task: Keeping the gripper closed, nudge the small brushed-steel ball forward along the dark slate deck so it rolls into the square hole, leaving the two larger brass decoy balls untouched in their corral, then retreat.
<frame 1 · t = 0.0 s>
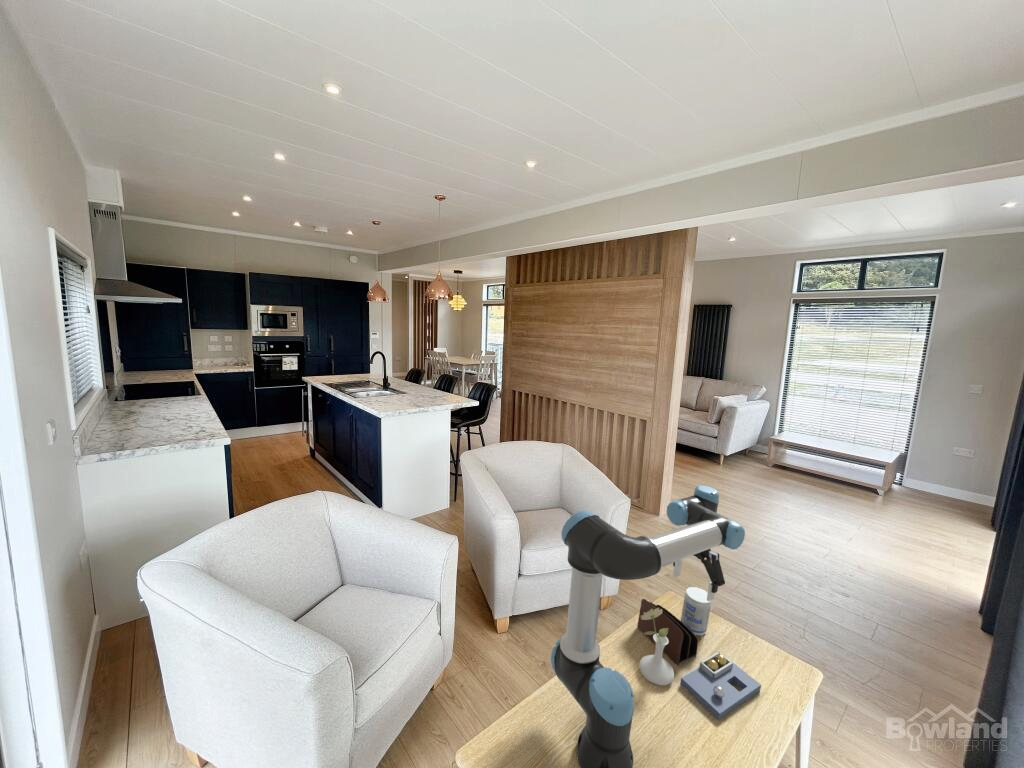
hand: (692, 587, 146), 28 cm above the table, fingers open, 13 cm apart
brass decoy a: (712, 665, 143), point 4 cm above the table, touching deck
flower in vase: (653, 674, 143), on the table
deck: (720, 687, 139), on the table
steel ball: (718, 691, 133), point 4 cm above the table, touching deck
letter holder: (665, 642, 158), on the table
brass decoy b: (720, 660, 145), point 4 cm above the table, touching deck
supplement tub: (693, 628, 166), on the table
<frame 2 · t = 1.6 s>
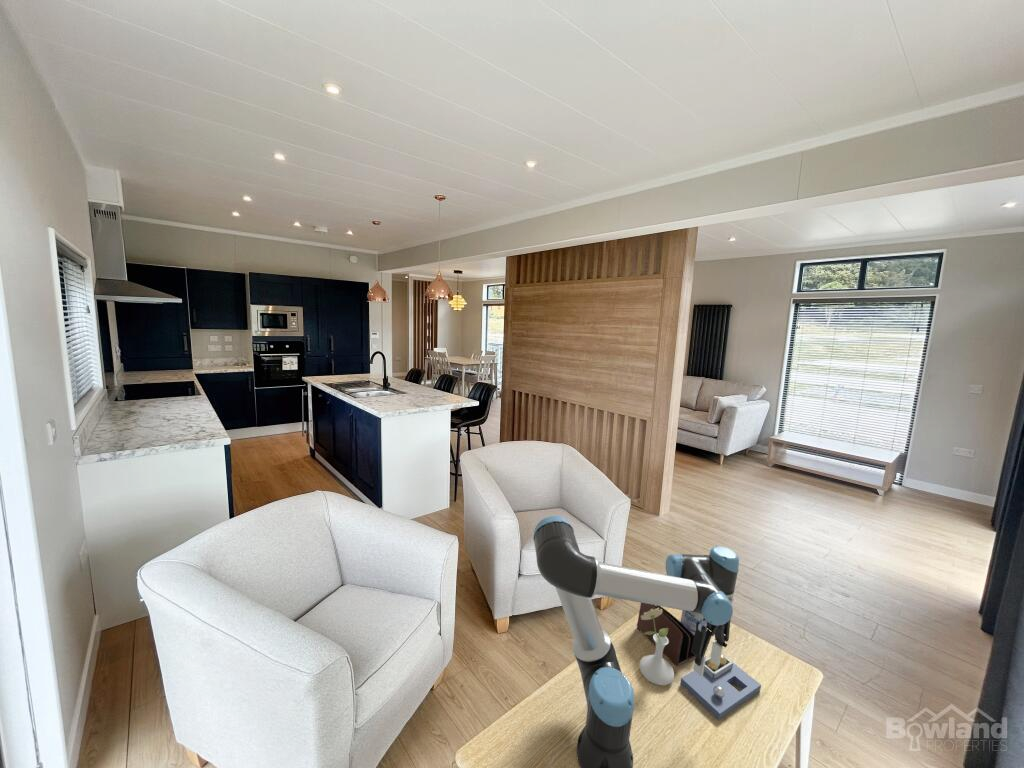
hand: (706, 667, 126), 17 cm above the table, fingers open, 7 cm apart
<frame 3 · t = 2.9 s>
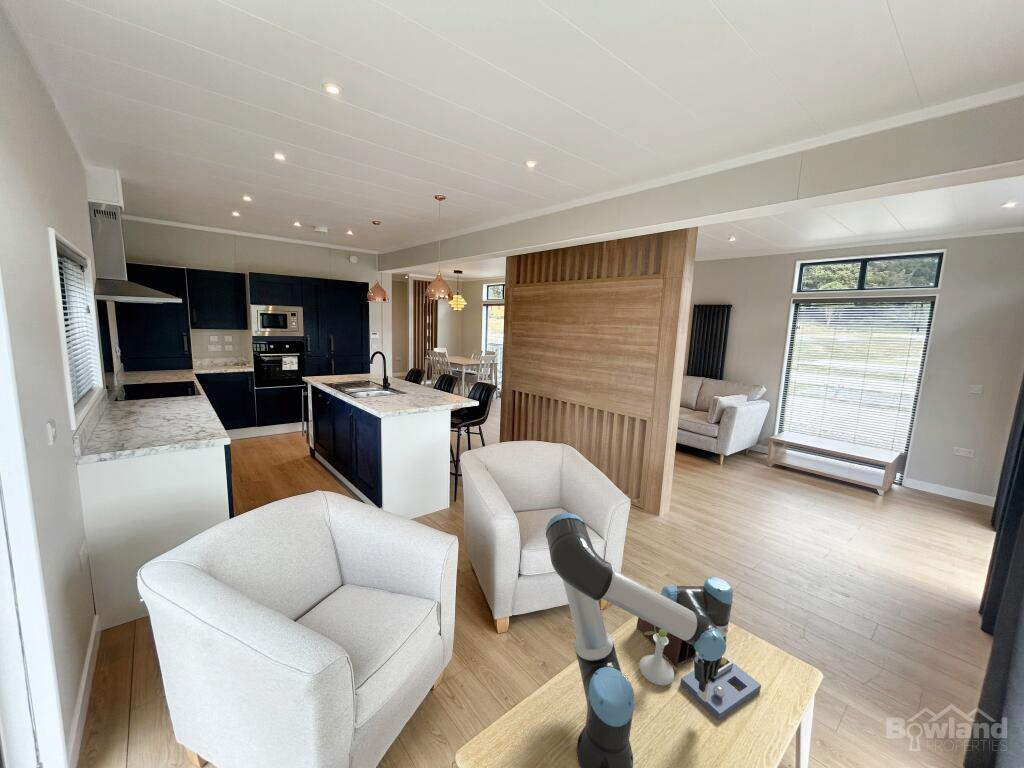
hand: (702, 697, 128), 6 cm above the table, fingers closed
nothing on the table moved.
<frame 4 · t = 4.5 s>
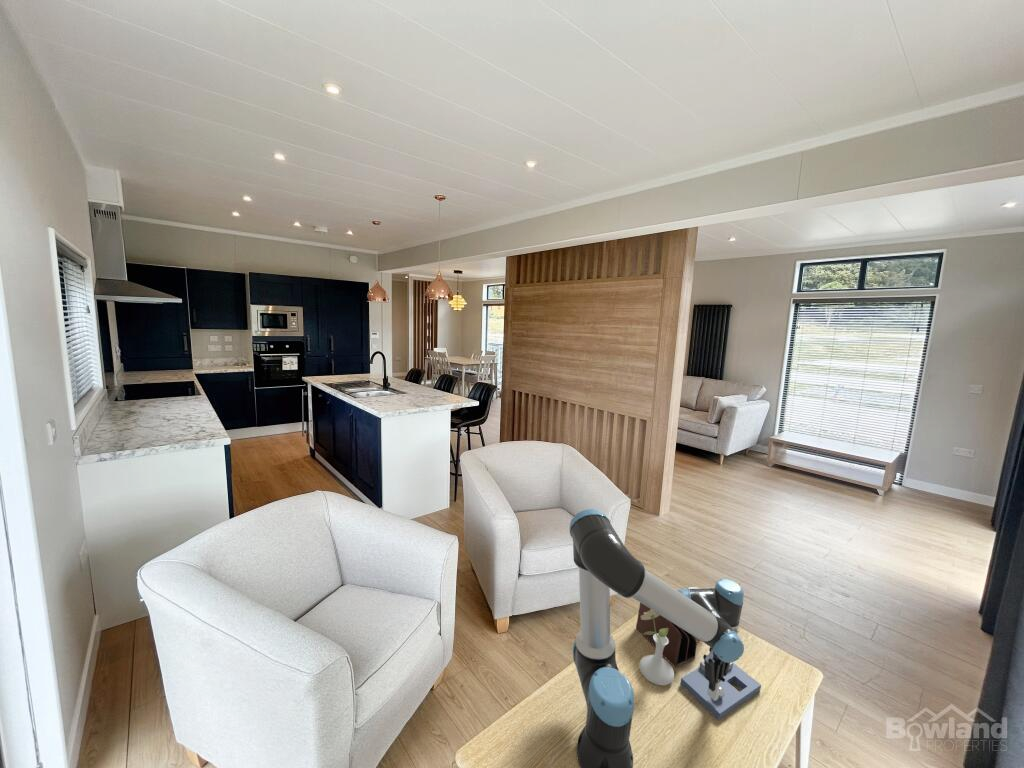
hand: (712, 696, 131), 4 cm above the table, fingers closed
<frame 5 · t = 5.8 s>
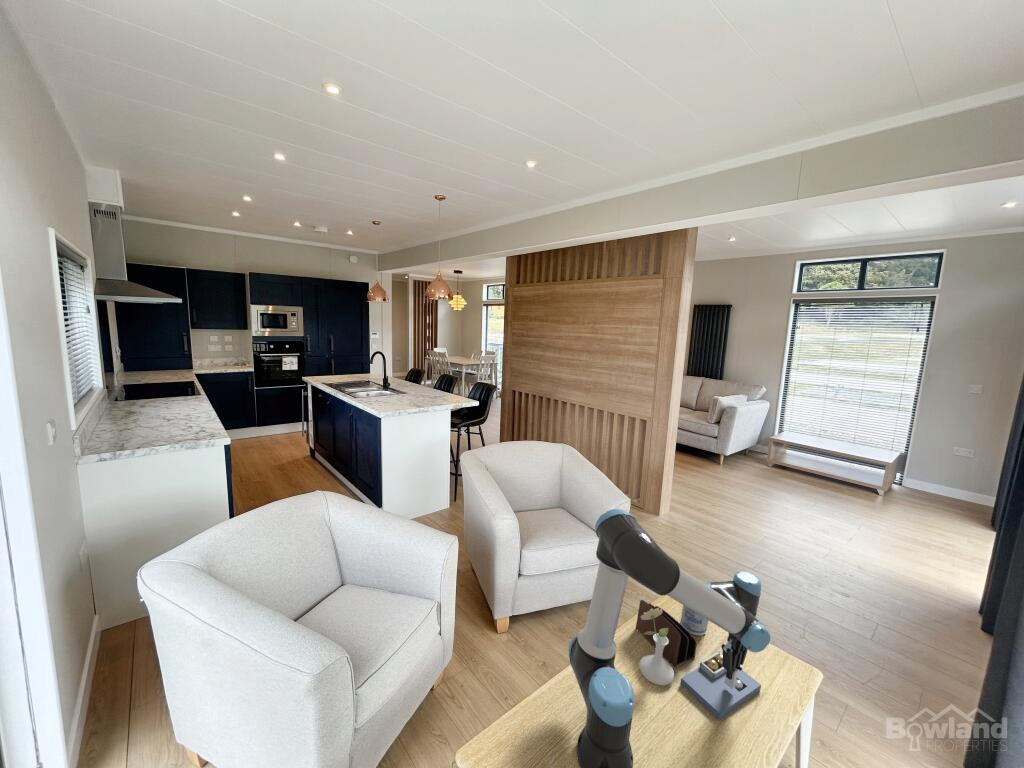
hand: (729, 685, 136), 4 cm above the table, fingers closed
steel ball: (738, 685, 139), point 2 cm above the table, tilted 49°
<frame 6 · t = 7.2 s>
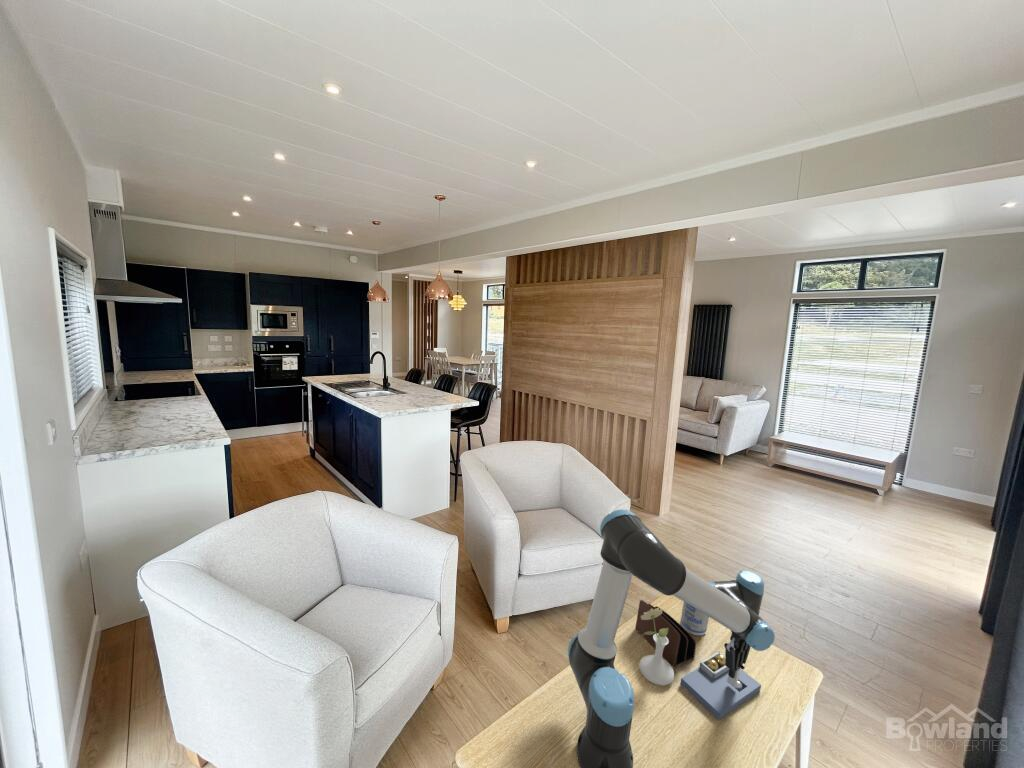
hand: (732, 683, 137), 4 cm above the table, fingers closed
steel ball: (737, 686, 139), point 2 cm above the table, tilted 34°
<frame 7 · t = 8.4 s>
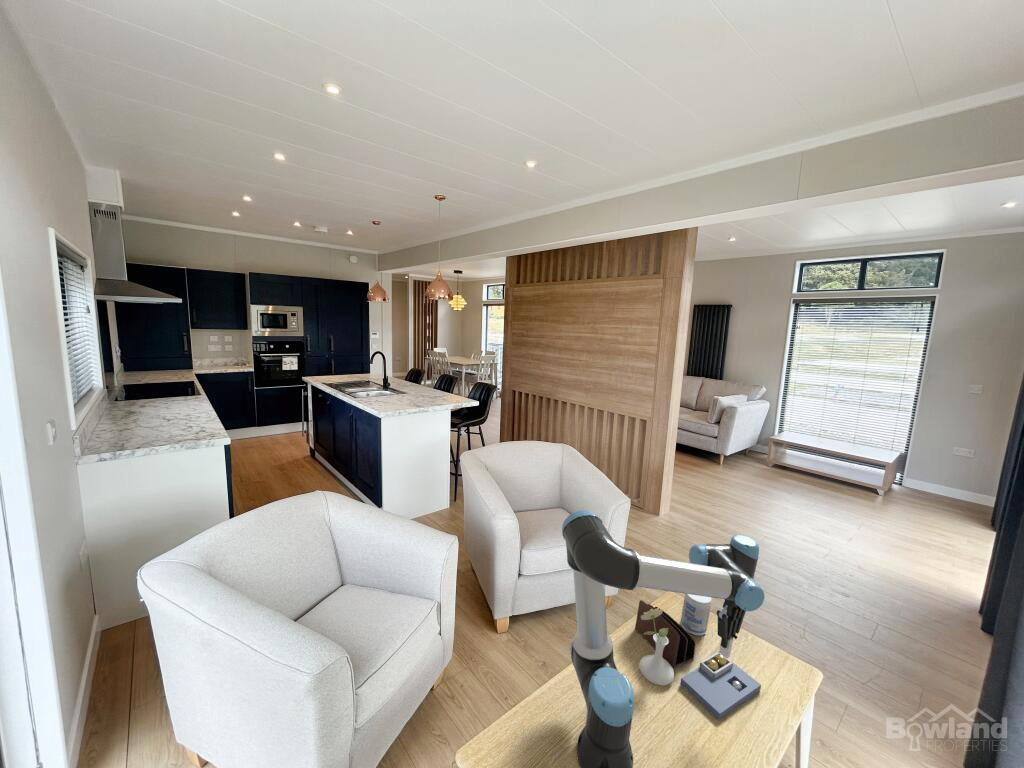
hand: (724, 654, 131), 18 cm above the table, fingers closed
steel ball: (736, 686, 138), point 2 cm above the table, tilted 21°
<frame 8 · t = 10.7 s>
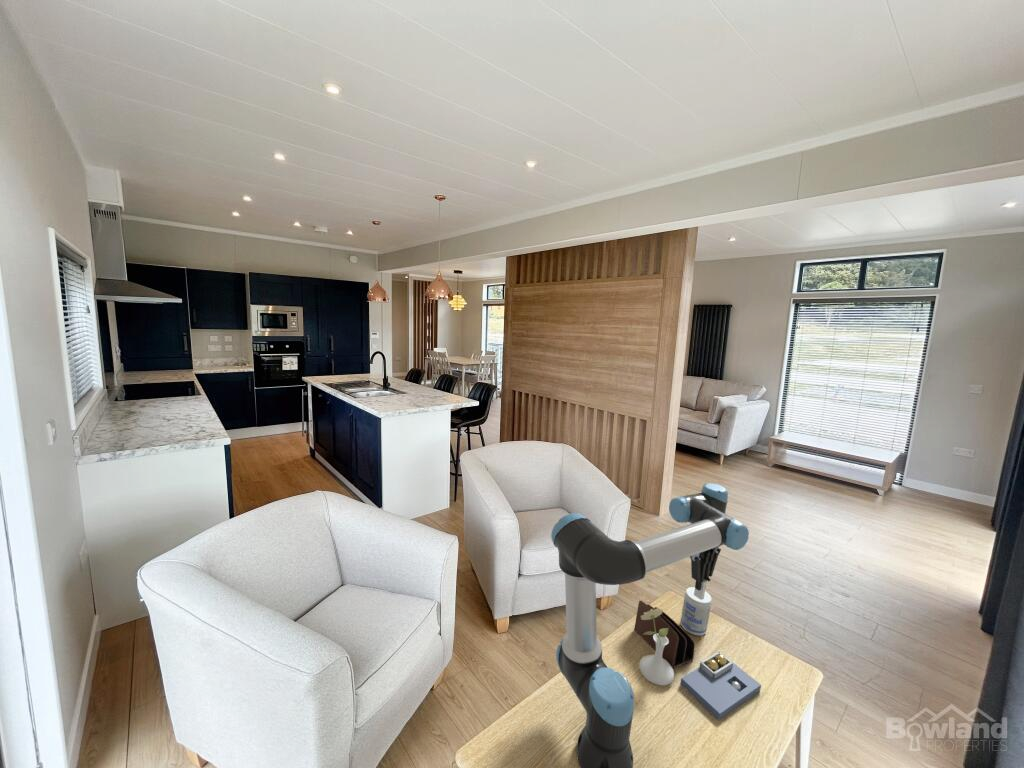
hand: (698, 596, 139), 29 cm above the table, fingers closed
steel ball: (735, 687, 138), point 2 cm above the table
at the end: steel ball 0.6 cm from the target spot on the deck, point 1.6 cm above the deck's base; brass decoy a moved 0.0 cm from its start; brass decoy b moved 0.0 cm from its start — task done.
